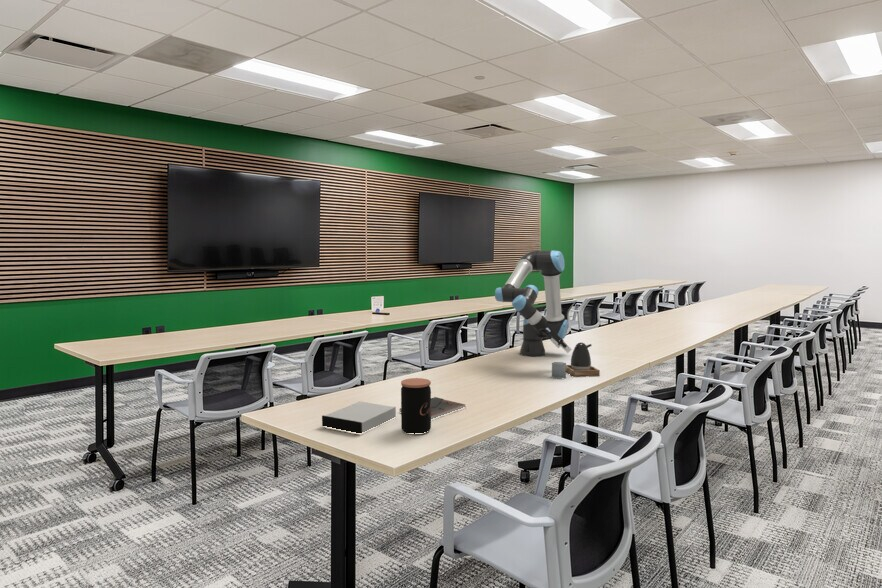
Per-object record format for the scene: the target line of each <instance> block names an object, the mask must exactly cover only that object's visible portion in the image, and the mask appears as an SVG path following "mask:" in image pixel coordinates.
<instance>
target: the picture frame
mask: <svg viewBox="0 0 882 588" xmlns="http://www.w3.org/2000/svg"><path fill="white" fill-rule="evenodd" d="M463 407H465V408H466V404H465V403H460V402H457V401H452V400H447V399H444V398H440V397H437V396H434V397H431V419H433V418H436V417H438V416H441V415H444V414H447V413H450V412H452V411H455V410H458V409H461V408H463ZM399 412H401V407H400V408H399Z"/></svg>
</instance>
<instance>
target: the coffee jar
mask: <svg viewBox="0 0 882 588" xmlns="http://www.w3.org/2000/svg"><path fill="white" fill-rule="evenodd" d="M431 383H432V382H431V380H430V379H427V378H423V377H422V378H421V377H420V378H419V377H412V378H406V379H405V378H404V379H403V380H401V382H400V384H401V388H400V408H401V413H400V415H401V416H400V419H401V421H400V422H401V423H400V424H401V430H402V432H403V431H404V432H406V433H414V434H415V433H424V432H427V431H429V432H430V430H431V429H432V421H431V398H432V391H431V389H432V388H431V386H430V385H431ZM404 432H403V433H404ZM406 433H405V434H406Z"/></svg>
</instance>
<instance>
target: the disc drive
mask: <svg viewBox="0 0 882 588" xmlns="http://www.w3.org/2000/svg"><path fill="white" fill-rule="evenodd" d="M396 411H397V409H396V406H391V405H384V404H378V403H373V402H364V401H357V402H355V403H353V404H350V405H348V406H345V407H343V408H340V409H338V410H335V411H333V412H330V413H328V414H324V415H322V416H321V426H327V427H332V428H336V429H341V430H346V431H351V432H356V433H362V432H365V431H367V430H369V429H371V428H373V427H376V426H378V425H380V424H382V423H384V422H386V421H388V420H390V419H392V418H394V417H396V418H397V416H396V414H397V412H396Z"/></svg>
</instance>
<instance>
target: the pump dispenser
mask: <svg viewBox="0 0 882 588" xmlns="http://www.w3.org/2000/svg"><path fill="white" fill-rule="evenodd" d="M592 345H593V344H591V343H590V344H585V343H584V342H578V343H576V345H575V347H574V348H573V351H572V353H571V358H570V365H571V366H572V369H573V370H574V371H580V370H589V369H590V366H592V359H591V355H590V351H589V349H588V348H590V347H592Z"/></svg>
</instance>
